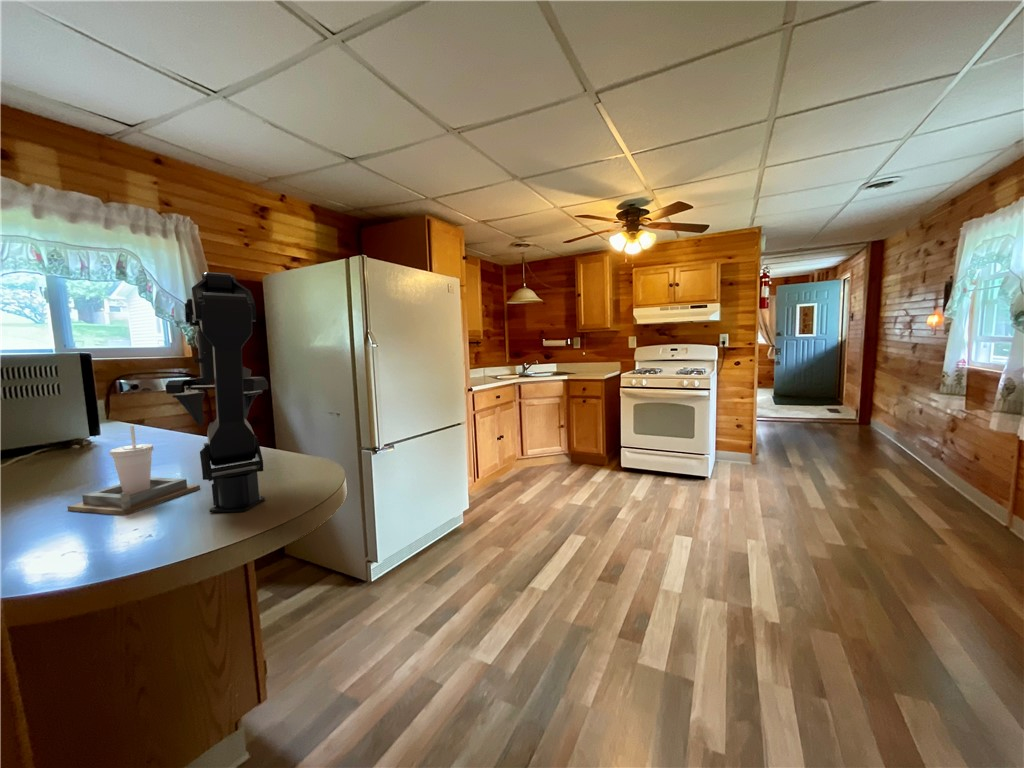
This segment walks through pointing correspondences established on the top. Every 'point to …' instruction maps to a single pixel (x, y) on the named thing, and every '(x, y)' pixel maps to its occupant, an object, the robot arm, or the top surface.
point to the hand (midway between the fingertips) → (221, 424)
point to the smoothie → (133, 465)
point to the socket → (132, 497)
